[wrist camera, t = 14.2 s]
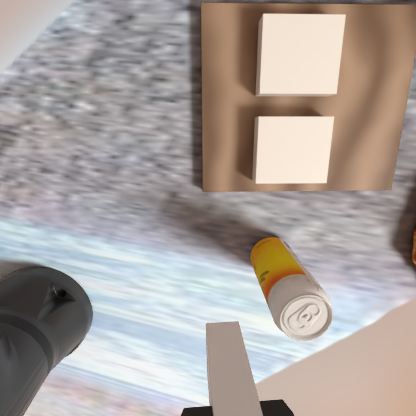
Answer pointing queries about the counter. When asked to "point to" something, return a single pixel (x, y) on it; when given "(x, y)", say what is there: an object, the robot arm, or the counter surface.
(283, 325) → the beer can
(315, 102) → the board
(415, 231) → the croissant
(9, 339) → the robot arm
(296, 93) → the tile
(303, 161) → the tile
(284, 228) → the counter surface
